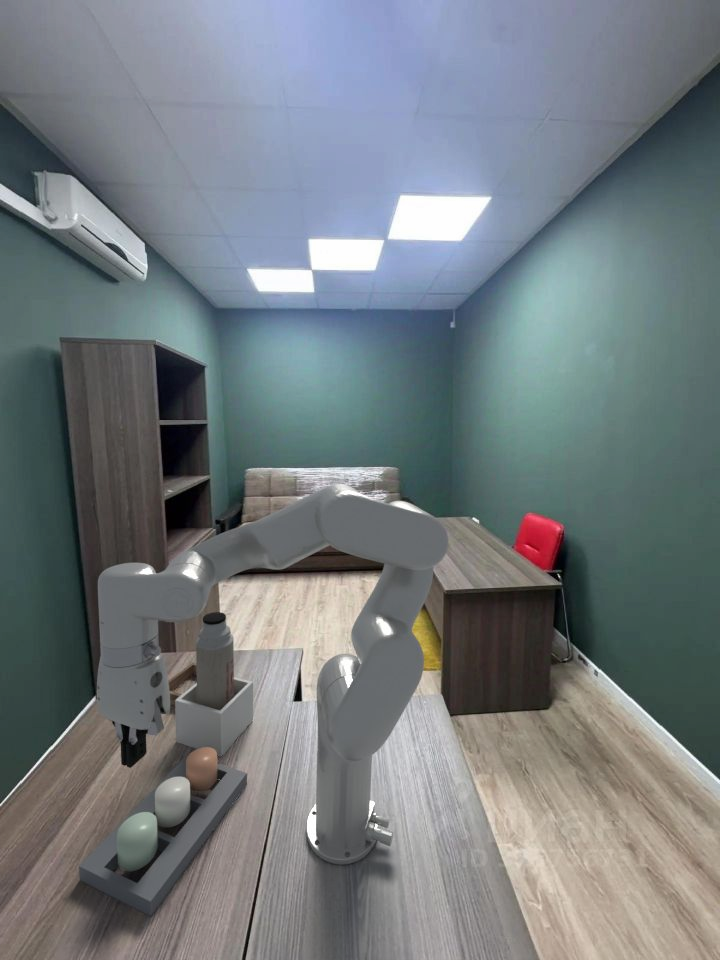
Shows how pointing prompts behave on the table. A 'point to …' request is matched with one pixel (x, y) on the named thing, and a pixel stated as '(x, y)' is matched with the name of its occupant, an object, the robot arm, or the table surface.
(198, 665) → the thermos bottle
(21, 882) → the table surface
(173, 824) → the cream egg
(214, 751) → the terracotta egg
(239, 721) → the grey open box
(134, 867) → the sage egg
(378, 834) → the robot arm
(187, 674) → the walnut deck tray
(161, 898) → the pebble holder tray
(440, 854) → the table surface
